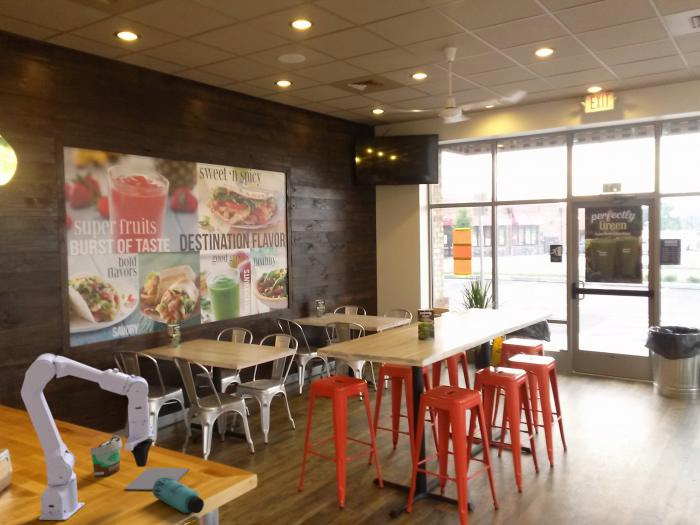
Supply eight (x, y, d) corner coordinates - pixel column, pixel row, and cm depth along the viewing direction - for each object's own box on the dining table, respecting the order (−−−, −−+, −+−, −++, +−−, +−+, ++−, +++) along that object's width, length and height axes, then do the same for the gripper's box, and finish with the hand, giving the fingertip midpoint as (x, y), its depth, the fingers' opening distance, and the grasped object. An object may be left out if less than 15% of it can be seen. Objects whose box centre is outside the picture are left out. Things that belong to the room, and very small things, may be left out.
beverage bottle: (172, 482, 176) (213, 502, 163) (156, 502, 172) (196, 523, 159) (160, 469, 173) (200, 488, 160) (144, 488, 169) (184, 509, 156)
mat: (169, 490, 177) (169, 489, 177) (124, 490, 178) (124, 488, 178) (188, 469, 192) (188, 468, 192) (147, 469, 194) (147, 467, 194)
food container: (109, 480, 186) (107, 448, 185) (91, 479, 187) (89, 448, 187) (131, 464, 198) (129, 435, 197) (114, 463, 199) (113, 434, 199)
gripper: (141, 428, 164) (143, 476, 165) (163, 412, 178) (165, 456, 179) (116, 428, 165) (119, 476, 165) (140, 412, 179) (142, 456, 180)
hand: (141, 465), depth 172 cm, fingers closed
